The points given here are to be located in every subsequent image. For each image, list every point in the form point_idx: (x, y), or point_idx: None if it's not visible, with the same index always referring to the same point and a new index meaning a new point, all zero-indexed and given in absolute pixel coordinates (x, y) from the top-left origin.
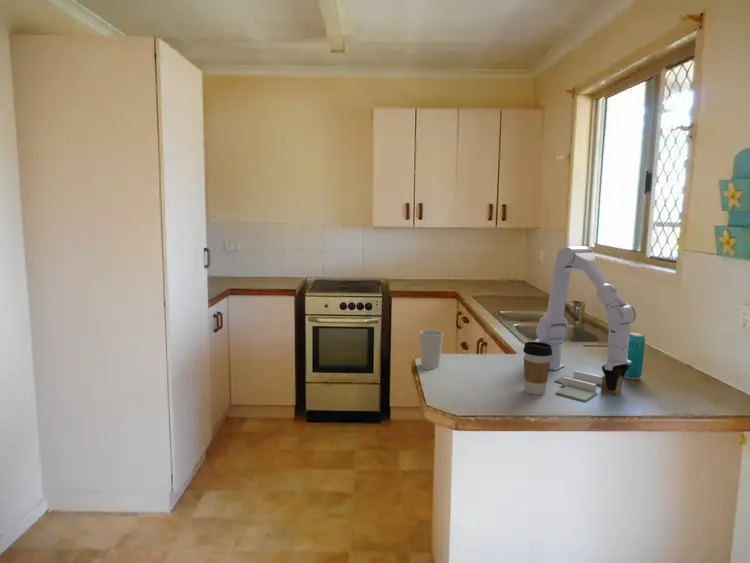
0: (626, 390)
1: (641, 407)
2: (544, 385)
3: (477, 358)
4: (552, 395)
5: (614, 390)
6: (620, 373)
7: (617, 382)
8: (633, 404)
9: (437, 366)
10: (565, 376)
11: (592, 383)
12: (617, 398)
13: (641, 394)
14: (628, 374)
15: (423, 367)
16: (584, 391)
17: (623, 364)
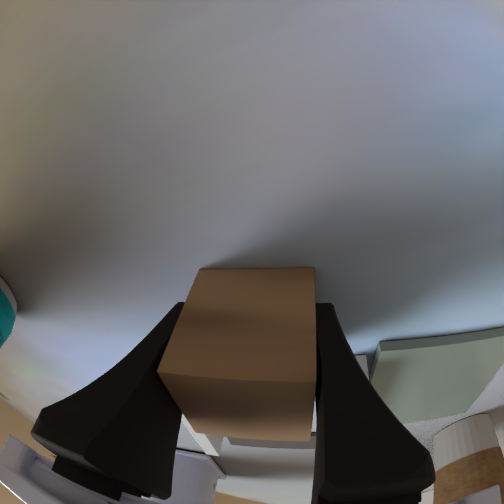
0: (140, 253)
1: (447, 36)
2: (487, 440)
3: (283, 500)
4: (479, 402)
5: (328, 304)
6: (356, 447)
7: (310, 352)
8: (429, 103)
9: None
10: (241, 443)
11: None
12: (375, 239)
13: (117, 149)
14: (4, 312)
15: None
16: (406, 382)
17: (108, 476)
